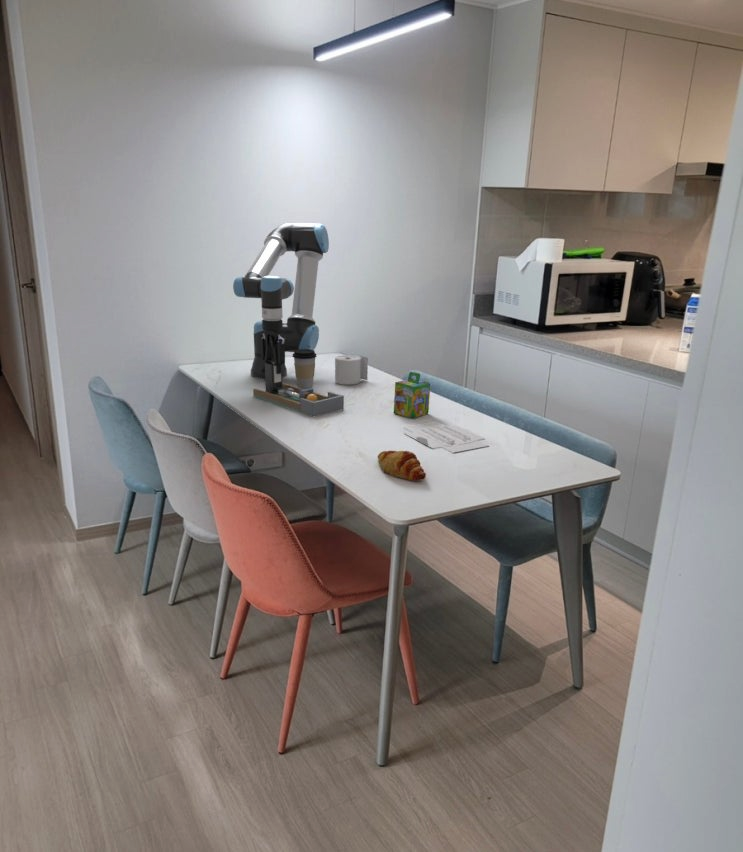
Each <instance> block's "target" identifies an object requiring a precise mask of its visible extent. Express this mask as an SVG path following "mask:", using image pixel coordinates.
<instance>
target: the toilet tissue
mask: <svg viewBox="0 0 743 852" xmlns="http://www.w3.org/2000/svg"><path fill="white" fill-rule="evenodd" d="M368 362H369V358H368V357H366V356H361V355H352V354H351V355H350V354H347V355H345V354H344V355H338V356H337V355H336V356H335V357H334V382H335V383H336V384H339V385H349V386H350V385H358V384H360V383H361V381H362V380H364V381H368V375H369V374H368V372H369V371H368V366H369V365H368V364H369V363H368Z"/></svg>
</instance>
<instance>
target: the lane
mask: <svg viewBox="0 0 743 852" xmlns="http://www.w3.org/2000/svg"><path fill="white" fill-rule="evenodd" d="M282 389H285V390H288V391H291V392H294V393H297V394H299V390H303V389H302V388H299V387H297V385H296V386H295V385H292V384H288V383H286V382H282ZM313 394H315V395H316V396H317V401H320V400H324V399H328V395H325V394H321V393H319V392H315V391H313ZM252 396H253V397H254V398H258V399H261V400H264V401H265V402H268V403H272V404H275V405H277V406H281V407H283V408H286V409H289V410H293V411H296V412H299V413H301V412H300V411H301V410H300V407H301V405H300V403H299V399H297V398H294V397H291V396H288V395H285V391H283V390H279V391H278V392H276V393H269V392H266V390H262V389H259V388H256V387H254V388H253V389H252Z"/></svg>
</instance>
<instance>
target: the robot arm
mask: <svg viewBox="0 0 743 852" xmlns="http://www.w3.org/2000/svg"><path fill="white" fill-rule="evenodd" d="M329 241H330V240H329V234H328V230H327V228H326V226H325V224H322V223H315V222H313V223H312V222H310V223H309V222H287V223H283V224H280V225H278V226H277V227H276V228H274V229H273V230H272V231H271V232H269V234H267V236H266V237H265V239H264V241H263V247H262V249H261V250H260V252H259V253H258V255H257V257H256V258H255V259H254V262H253V263H252V265H251V266H250V268H249V269H248V271H247V273H246V274H245V275H244V276H240V277H239V276H238V277H236V278H235V279H234V280H233V286H232V289H233V293H234V295H235V296H236V297H238V298H244V299H247V298H248V299H260V300H261V301H260V302H261V318H262V320H259V321H256V322H255V323H254V324H253V334H252V335H253V346H254V347H253V348H254V349H253V350H254V353H253V354H254V358H253V361H252V363H251V364H252V365H251V369H250V376H251V377H253V378H257V379H264V380H265V363H267V362H273V361H275V364H273V365H274V382H275V383H276V382H281V365H282V378H284V377H286V376H287V375H288V372H287V371H288V369H287V366H286V353H294V351H295V350H299V349H310V350H314V351H315V350H316V347H317V345H318V342H319V339H320V328H319V327H318V326H317V325H316V321H315V319H314V318H313V314H314V304H315V296H316V288H317V278H318V270H319V261H322V259H323V258H324V254H326V253H328V252H329V248H330V247H329V245H330V242H329ZM286 252H294V256H295V257H296V258H297V264H296V275H295V283H293V282H292V280H291V279H289V278H283V277H282V278H281V277H280V276H279V275H270V274H271V272H272V271H273V269H274V267H275V266H276V264H277V263H278V261H279V259H280V257H282V256H284V255H285V254H286ZM292 295H293V298H292V299H293V300H292V307H291V309H292V310H291V315H290V316H288V317H287V318H286V319H287V320H286V322H285V323H283V322H284V321H283V300H286V299H288V298H290V297H291V296H292Z"/></svg>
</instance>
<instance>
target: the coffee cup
mask: <svg viewBox="0 0 743 852" xmlns="http://www.w3.org/2000/svg"><path fill="white" fill-rule="evenodd" d="M291 357H292V358H293V360H294V361H293V362H294V363H293V364H294V374H295V377H296V387H299V388H302V389H307V388H312V389H314V388H313V386H314V377H315V371H316V358H317V353H316V351H315V349H314V350H310V349H299V350H295V351H294V352H292V356H291Z"/></svg>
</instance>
